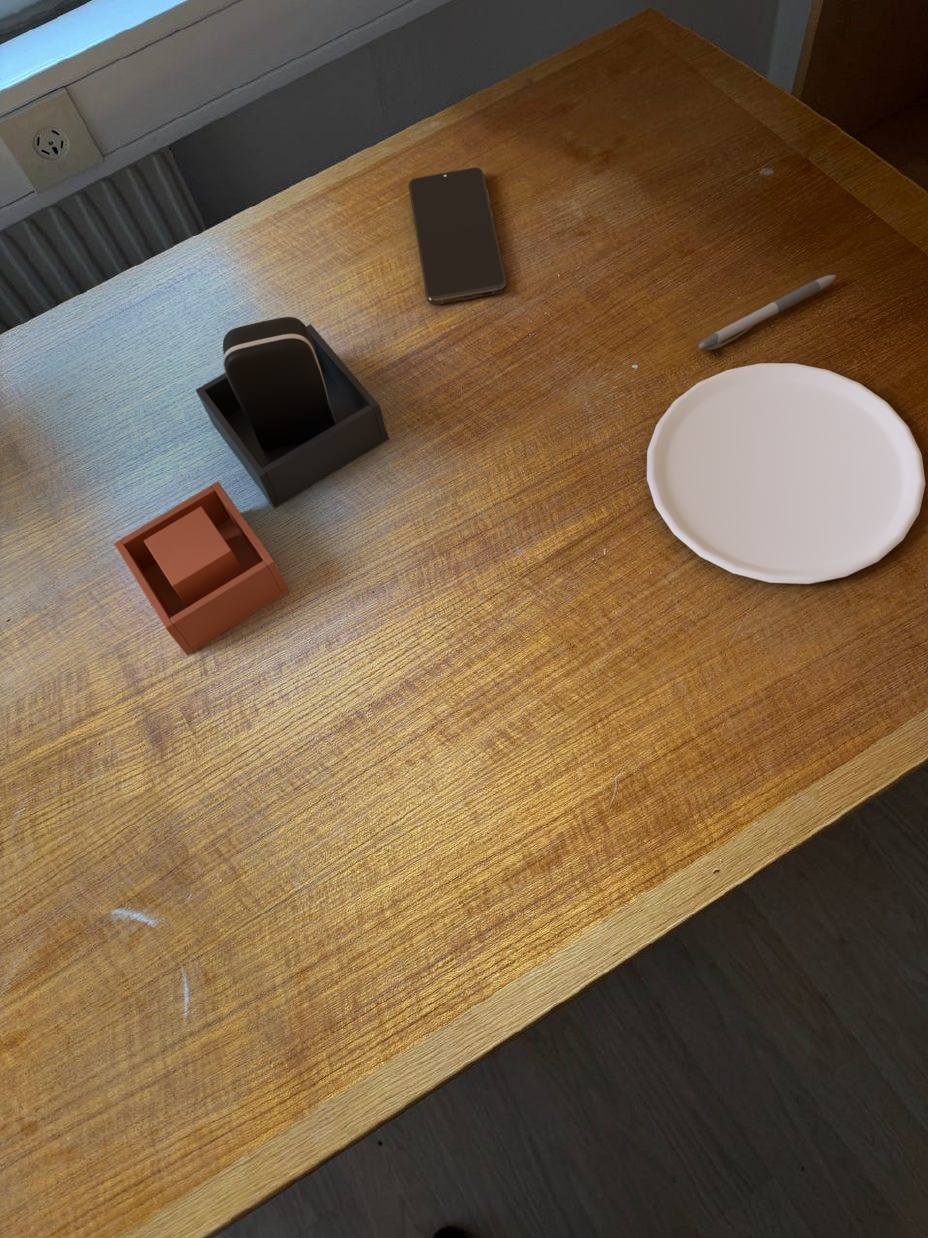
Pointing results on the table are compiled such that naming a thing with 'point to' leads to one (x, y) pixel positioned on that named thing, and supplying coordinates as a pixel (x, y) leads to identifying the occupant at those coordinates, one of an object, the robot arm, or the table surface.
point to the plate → (785, 473)
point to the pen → (764, 313)
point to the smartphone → (456, 236)
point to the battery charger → (278, 381)
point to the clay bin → (222, 604)
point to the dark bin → (311, 460)
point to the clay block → (194, 556)
